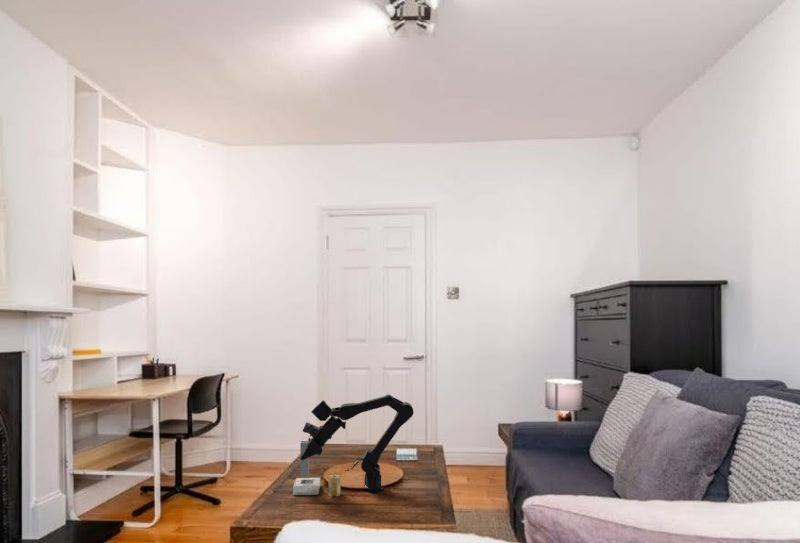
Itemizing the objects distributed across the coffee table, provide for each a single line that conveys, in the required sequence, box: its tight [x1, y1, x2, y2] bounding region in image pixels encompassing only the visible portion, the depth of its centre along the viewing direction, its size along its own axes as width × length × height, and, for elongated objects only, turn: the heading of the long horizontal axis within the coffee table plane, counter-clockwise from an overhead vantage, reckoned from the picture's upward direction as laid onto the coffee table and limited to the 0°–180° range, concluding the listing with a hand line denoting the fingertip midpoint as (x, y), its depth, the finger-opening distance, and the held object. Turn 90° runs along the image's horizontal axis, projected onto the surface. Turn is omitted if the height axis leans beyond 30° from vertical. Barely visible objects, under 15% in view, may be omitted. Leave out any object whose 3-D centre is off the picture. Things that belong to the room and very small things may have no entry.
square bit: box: [299, 440, 310, 477], centre depth 211 cm, size 3×3×13 cm
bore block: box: [292, 477, 321, 496], centre depth 212 cm, size 10×10×4 cm
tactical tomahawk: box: [354, 456, 362, 463], centre depth 248 cm, size 21×7×1 cm, turn 166°
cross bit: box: [327, 474, 341, 498], centre depth 207 cm, size 5×5×7 cm
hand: (301, 458), depth 211 cm, fingers closed on square bit, 3 cm apart
